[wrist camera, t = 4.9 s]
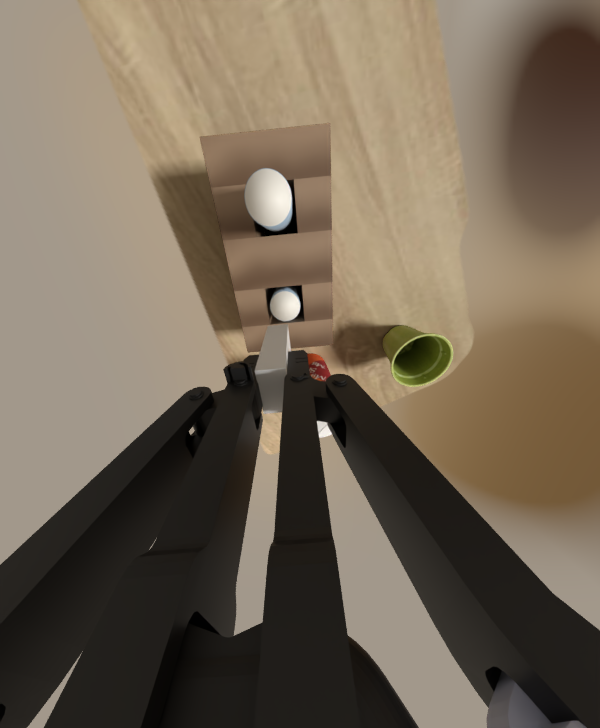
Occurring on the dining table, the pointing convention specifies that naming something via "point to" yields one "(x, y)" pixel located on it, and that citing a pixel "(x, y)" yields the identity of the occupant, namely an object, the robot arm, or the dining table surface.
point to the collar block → (280, 252)
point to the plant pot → (416, 355)
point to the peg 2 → (285, 303)
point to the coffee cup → (319, 373)
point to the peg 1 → (269, 199)
